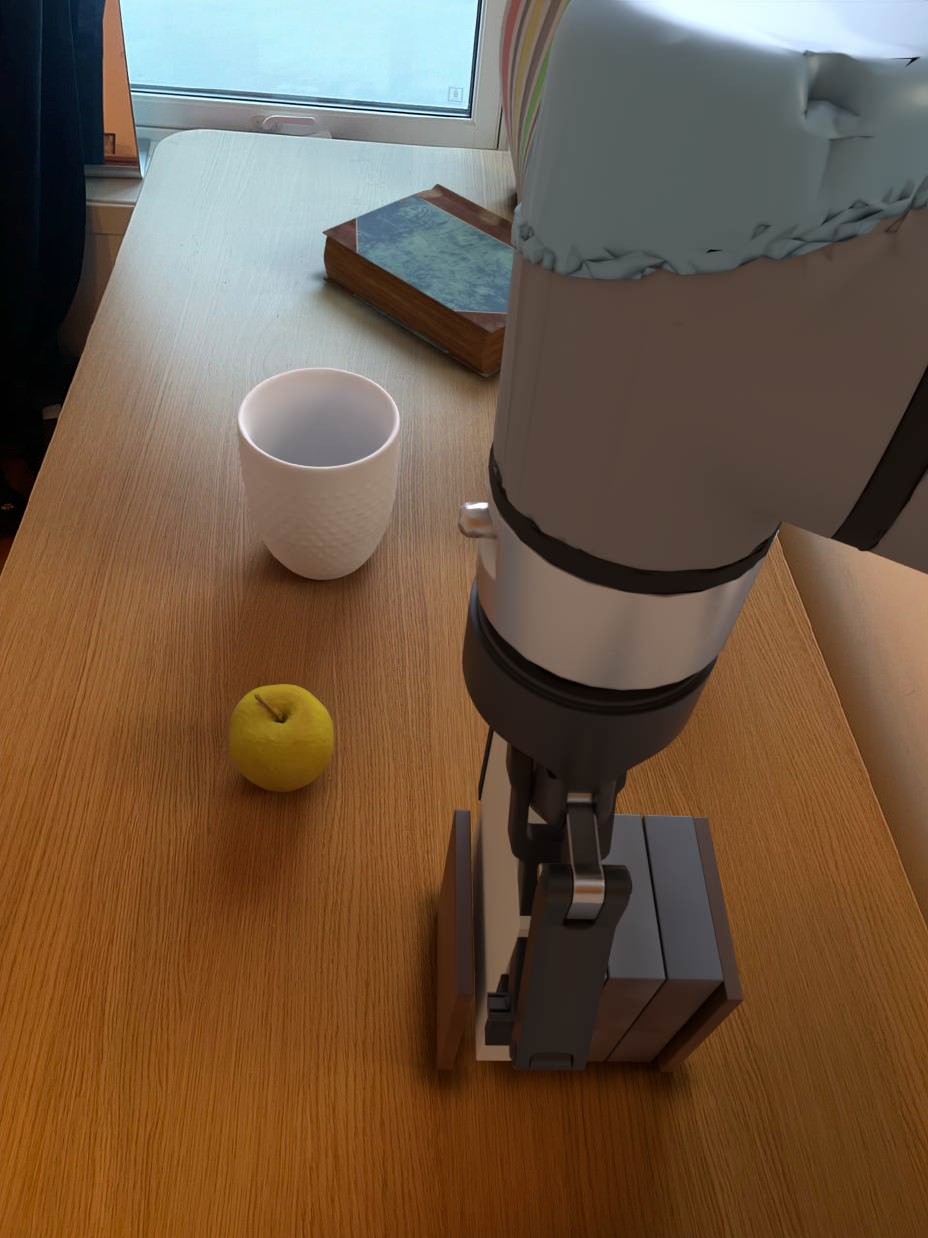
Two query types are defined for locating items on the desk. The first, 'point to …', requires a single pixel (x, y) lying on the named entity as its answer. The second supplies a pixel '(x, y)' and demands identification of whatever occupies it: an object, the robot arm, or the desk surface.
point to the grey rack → (621, 945)
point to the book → (431, 271)
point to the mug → (319, 467)
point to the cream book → (494, 893)
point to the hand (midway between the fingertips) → (509, 905)
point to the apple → (280, 737)
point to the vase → (525, 73)
